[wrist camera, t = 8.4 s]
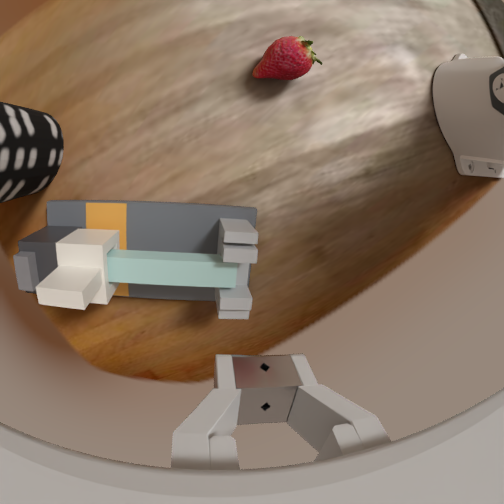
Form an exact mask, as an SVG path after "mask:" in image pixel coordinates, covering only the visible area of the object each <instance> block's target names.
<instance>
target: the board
mask: <svg viewBox="0 0 504 504" xmlns="http://www.w3.org/2000/svg"><path fill="white" fill-rule="evenodd" d="M256 215H257V209H256V208H254V207H241V206H227V205H212V204H195V203H176V202H152V201H117V200H51V201H48V202H47V222H48V226H78V227H82V229H105V230H119V244H120V250H139V251H159V252H180V253H201V254H217V247H218V234H219V222H220V218H228V219H243V220H248V222H249V223H250V224H251V225H252V226H253V227H254V229H255V224H256ZM250 269H251V263H249V271H248V280H247V286H248V287H249V278H250ZM112 296H124V297H139V298H155V299H175V300H199V301H216V298H215V287H196V286H173V285H154V284H136V283H121V282H120V283H119V285H118V287H117V289H116V290H115V292H114V294H113V295H112Z"/></svg>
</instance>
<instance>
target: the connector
mask: <svg viewBox="0 0 504 504" xmlns="http://www.w3.org/2000/svg"><path fill="white" fill-rule="evenodd" d="M77 229H82V227H78V226H46V227H44V228H42V229H40V230H38V231H36V232H34V233H32V234H31V235H29V236H27V237H25V238H23V239H21V240H19V241H18V246H19V253H17V254H15V255H14V256H13V258H14V265H15V271H16V277H17V282H18V287H19V289H20V290H25V291H26V292H27V293H35V294H37V292H36V286H37V285H38V284H39V283H40V282H42V281H43V280H44V279H45V278H46V277H47V276H48V275H49V274H50V273H52V272H53V271H54V270H55V269H56V268H57V267H58V262H57V253H56V242H58V241H60V240H61V239H63V238H64V237H66V236H67V235H69V234H70V233H72V232H74V231H75V230H77Z"/></svg>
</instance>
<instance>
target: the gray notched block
mask: <svg viewBox="0 0 504 504" xmlns="http://www.w3.org/2000/svg"><path fill="white" fill-rule="evenodd" d="M257 242H258V232H257V231H256V230H255V229H254V227H253V226H252V225H251V224H250V223H249V222H248V220H243V219H228V218H220V222H219V234H218V247H217V254H220V256H222V259H223V262H232V263H238V265H237V276H236V287H235V288H225V287H215V298H216V305H217V312H218V319H249V311H250V310H251V307H252V296H251V294H250V291H249V289H248V286H247V280H248V271H249V263H256V264H257V256H258V249H257V248H256V246H255V245H254V244H257Z"/></svg>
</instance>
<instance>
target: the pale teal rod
mask: <svg viewBox="0 0 504 504" xmlns="http://www.w3.org/2000/svg"><path fill="white" fill-rule="evenodd" d="M237 265H238V263H232V262H223V259H222V256H220V254H201V253H180V252H159V251H139V250H119V249H111V250H110V251H109V252H108V253H107V266H108V279H109V282H121V283H136V284H154V285H173V286H196V287H225V288H235V287H236V276H237Z"/></svg>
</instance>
